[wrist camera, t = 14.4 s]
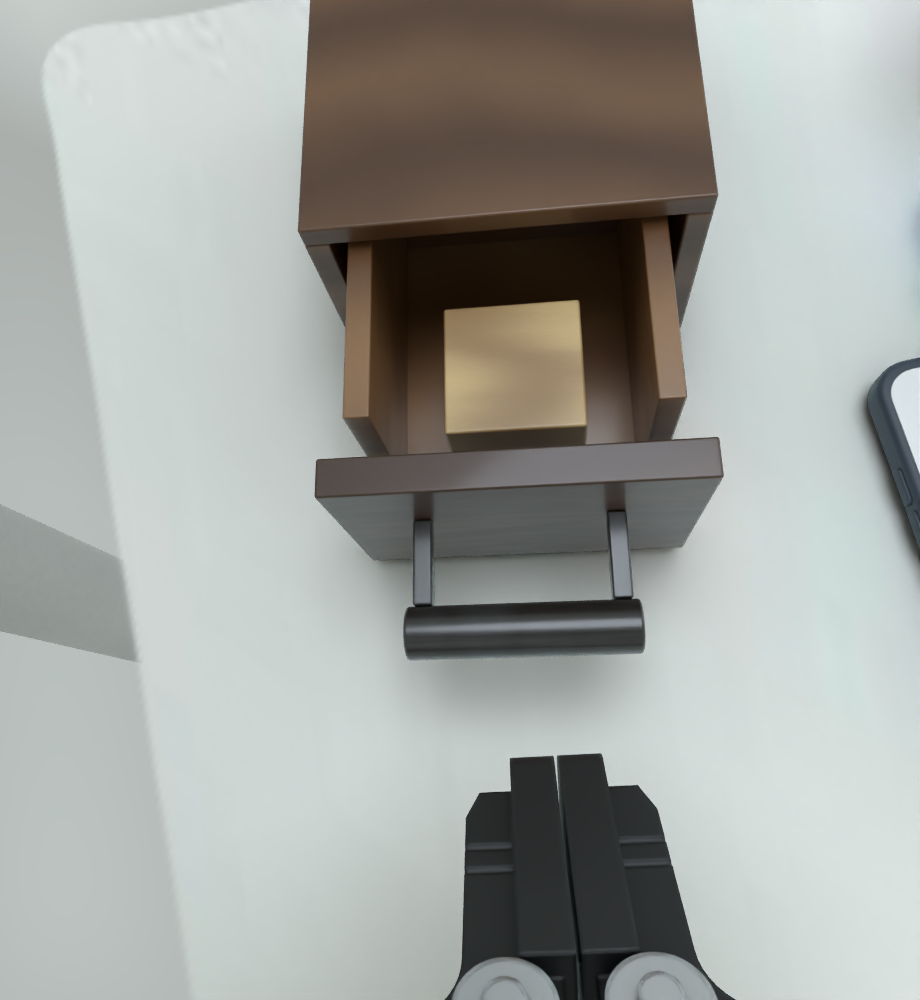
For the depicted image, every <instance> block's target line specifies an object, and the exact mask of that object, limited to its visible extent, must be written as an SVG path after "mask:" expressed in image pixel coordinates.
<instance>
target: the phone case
mask: <svg viewBox="0 0 920 1000" xmlns="http://www.w3.org/2000/svg"><path fill="white" fill-rule="evenodd" d="M868 407H869V411H870V414H871V416H872V419H873V422H874V425H875V427H876V430H877V433H878V436H879V438H880V441H881V444H882V447H883V449H884V452H885V455H886V458H887V461H888V463H889V466H890V469H891V472H892V474H893V478H894V480H895V483H896V486H897V489H898V491H899V494H900V497H901V500H902V502H903V505H904V508H905V510H906V513H907V516H908V519H909V522H910V525H911V527H912V530H913V533H914V536H915V538H916V541H917V544H918V547H919V549H920V358H915V359H911V360H906V361H902V362H899V363H896V364H894V365H892V366H890V367H889V368H887V369H886V370H885V371H884V372H883V373H882V374H881V375H880V376H879V378H878V379H877V380H876V381H875V382H874V384H873V385H872V387H871V389H870V391H869V395H868Z"/></svg>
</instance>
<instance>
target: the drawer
mask: <svg viewBox="0 0 920 1000" xmlns="http://www.w3.org/2000/svg"><path fill="white" fill-rule="evenodd" d="M570 300H578V301H579V303H580V316H581V331H582V345H583V360H584V375H585V389H586V404H587V419H588V428H587V439H586V444H585V445H567V446H549V447H531V448H513V449H495V450H477V451H459V452H451V449H450V446H449V443H448V440H447V437H446V434H445V405H444V310H448V309H462V308H475V307H489V306H502V305H516V304H529V303H543V302H556V301H570ZM686 398H687V390H686V381H685V372H684V363H683V354H682V345H681V336H680V326H679V317H678V308H677V299H676V290H675V281H674V272H673V263H672V253H671V244H670V235H669V226H668V217H667V215H666V216H655V217H643V218H631V219H619V220H607V221H595V222H583V223H571V224H559V225H547V226H536V227H524V228H512V229H500V230H488V231H476V232H464V233H452V234H440V235H428V236H417V237H405V238H393V239H381V240H369V241H357V242H348V261H347V293H346V325H345V358H344V390H343V419H344V421H345V422H346V424H347V425H348V427H349V429H350V430H351V432H352V433H353V435H354V436H355V438H356V440H357V441H358V443H359V444H360V446H361V448H362V449H363V451H364V452H365V454H366V455H367V457H352V458H334V459H318V460H317V461H316V476H315V498H316V499H317V500H318V501H319V502H320V503H321V505H322V506H323V507H324V508H325V509H326V510H327V511H328V512H329V513H330V514H331V515H332V516H333V517H334V518H335V520H336V521H337V522H338V523H339V524H340V525H341V526H342V527H343V528H344V529H345V530H346V531H347V532H348V533H349V535H350V536H351V537H352V538H353V539H354V540H355V541H356V542H357V543H358V544H359V545H360V546H361V547H362V548H363V550H364V551H365V552H366V553H367V554H368V555H369V556H370V557H371V558H372V559H373V560H392V559H413V605H414V606H415V607H408V608H407V609H406V612H405V615H404V624H403V638H404V648H405V653H406V656H407V658H408V659H409V660H439V659H473V658H508V657H542V656H576V655H611V654H641V653H643V652H644V649H645V622H644V613H643V607H642V603H641V601H640V600H639V599H632V598H633V583H632V571H631V558H630V549H651V548H675V547H682V546H683V545H684V543H685V541H686V540H687V538H688V536H689V534H690V533H691V531H692V529H693V528H694V526H695V524H696V523H697V521H698V519H699V517H700V516H701V514H702V512H703V511H704V509H705V507H706V505H707V504H708V502H709V500H710V499H711V497H712V495H713V494H714V492H715V490H716V488H717V487H718V485H719V483H720V482H721V480H722V478H723V476H724V474H723V465H722V457H721V449H720V441H719V438H718V437H710V438H692V439H674V440H672V437H673V434H674V432H675V429H676V426H677V423H678V420H679V418H680V415H681V412H682V409H683V406H684V404H685V401H686ZM604 550H608V552H609V566H610V579H611V593H612V600H587V601H559V602H531V603H504V604H476V605H448V606H434V558H439V557H462V556H486V555H510V554H533V553H557V552H581V551H604Z"/></svg>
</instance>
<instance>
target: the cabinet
mask: <svg viewBox="0 0 920 1000" xmlns="http://www.w3.org/2000/svg"><path fill="white" fill-rule="evenodd" d="M717 197H718V190H717V182H716V175H715V167H714V160H713V152H712V145H711V137H710V130H709V122H708V115H707V107H706V100H705V92H704V85H703V77H702V70H701V62H700V55H699V47H698V39H697V32H696V24H695V17H694V9H693V2H692V0H310V14H309V33H308V52H307V70H306V89H305V108H304V127H303V146H302V165H301V184H300V203H299V222H298V232H299V234H300V236H301V238H302V240H303V242H304V244H305V247H306V249H307V251H308V253H309V255H310V257H311V259H312V261H313V263H314V265H315V267H316V269H317V271H318V273H319V275H320V277H321V279H322V281H323V283H324V285H325V287H326V289H327V291H328V293H329V296H330V298H331V300H332V302H333V304H334V306H335V308H336V310H337V312H338V314H339V316H340V318H341V320H342V322H343V324H344V326H345V325H346V293H347V261H348V242H357V241H369V240H381V239H393V238H405V237H417V236H428V235H440V234H452V233H464V232H476V231H488V230H500V229H512V228H524V227H536V226H547V225H559V224H571V223H583V222H595V221H607V220H619V219H631V218H643V217H655V216H666V215H667V217H668V226H669V235H670V244H671V253H672V263H673V272H674V281H675V290H676V299H677V308H678V317H679V326H680V327H681V324H682V320H683V317H684V313H685V310H686V306H687V303H688V299H689V296H690V292H691V289H692V285H693V282H694V278H695V275H696V271H697V268H698V264H699V260H700V257H701V253H702V250H703V246H704V243H705V239H706V236H707V232H708V229H709V225H710V222H711V218H712V215H713V210H714V208H715V204H716V201H717Z"/></svg>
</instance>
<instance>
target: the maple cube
mask: <svg viewBox="0 0 920 1000" xmlns="http://www.w3.org/2000/svg"><path fill="white" fill-rule="evenodd" d="M444 405H445V434H446V437H447V440H448V443H449V446H450V449H451V452H459V451H477V450H495V449H513V448H531V447H549V446H567V445H585V444H586V439H587V428H588V419H587V404H586V389H585V375H584V360H583V345H582V331H581V316H580V303H579V301H578V300H570V301H556V302H543V303H529V304H516V305H502V306H489V307H475V308H462V309H448V310H444Z"/></svg>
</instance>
